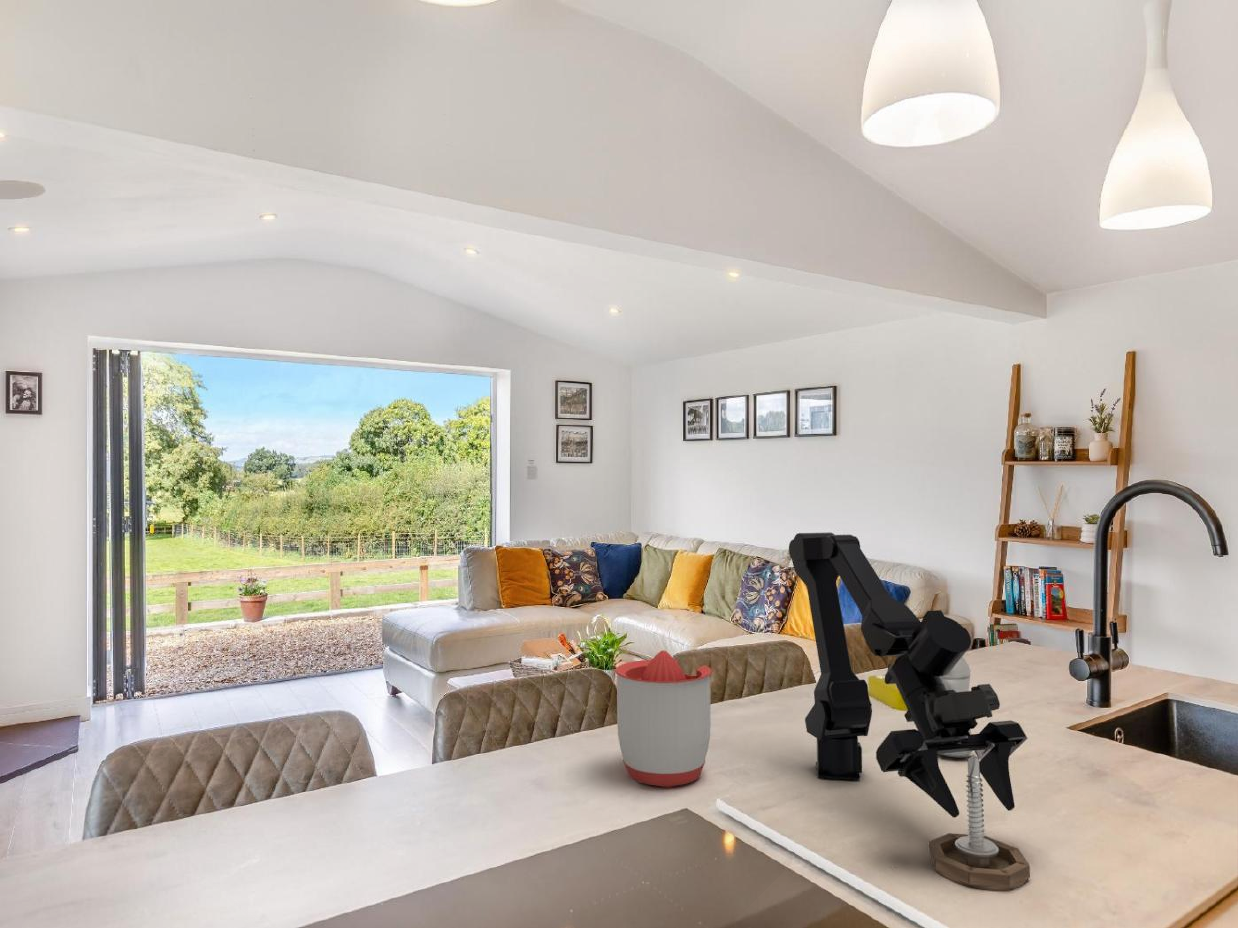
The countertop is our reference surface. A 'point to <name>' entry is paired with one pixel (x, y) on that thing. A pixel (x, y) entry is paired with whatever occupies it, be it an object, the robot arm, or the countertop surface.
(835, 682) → the robot arm
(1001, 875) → the brown wooden tray
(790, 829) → the countertop surface
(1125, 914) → the countertop surface
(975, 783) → the screw
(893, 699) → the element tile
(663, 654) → the citrus juicer
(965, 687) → the plastic bottle
